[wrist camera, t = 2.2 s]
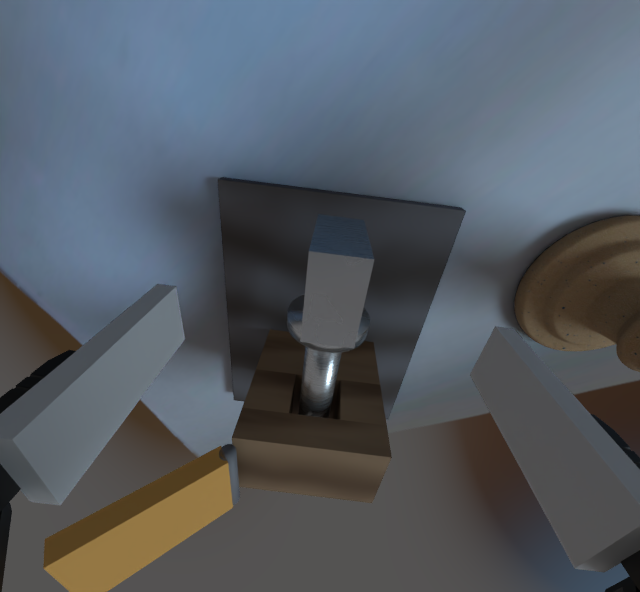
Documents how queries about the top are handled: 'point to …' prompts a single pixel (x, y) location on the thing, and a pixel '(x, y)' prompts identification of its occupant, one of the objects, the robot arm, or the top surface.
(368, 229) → the hitch block
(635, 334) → the candle holder
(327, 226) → the lynch pin
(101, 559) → the plate
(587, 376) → the top surface
